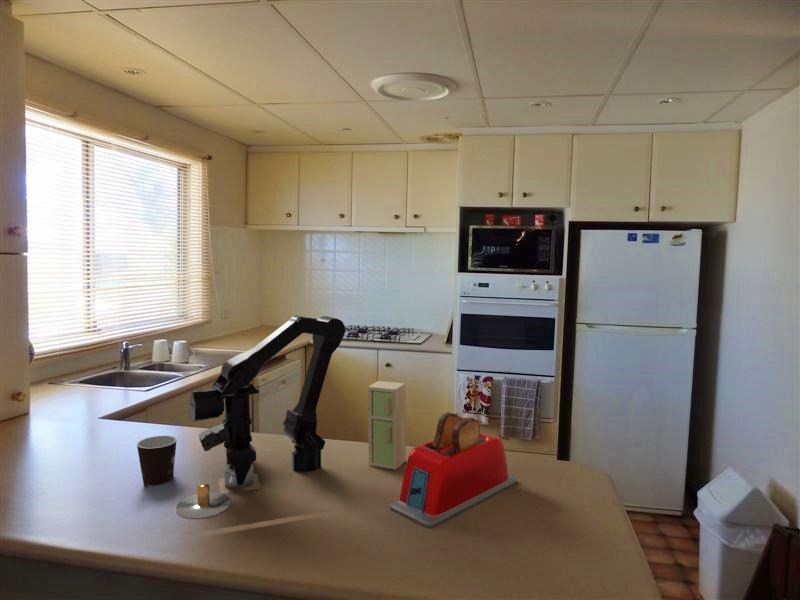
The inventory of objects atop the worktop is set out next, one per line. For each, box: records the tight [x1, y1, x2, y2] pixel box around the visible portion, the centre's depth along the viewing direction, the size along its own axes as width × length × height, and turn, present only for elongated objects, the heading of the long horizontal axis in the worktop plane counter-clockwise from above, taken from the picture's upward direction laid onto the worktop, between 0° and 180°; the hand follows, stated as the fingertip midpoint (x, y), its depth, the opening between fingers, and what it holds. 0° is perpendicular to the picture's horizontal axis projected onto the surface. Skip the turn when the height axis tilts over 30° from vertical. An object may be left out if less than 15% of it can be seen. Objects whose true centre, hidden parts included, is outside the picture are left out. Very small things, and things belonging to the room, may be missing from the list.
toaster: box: [388, 412, 517, 528], centre depth 125 cm, size 32×13×19 cm, turn 135°
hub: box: [175, 482, 232, 519], centre depth 118 cm, size 11×11×5 cm
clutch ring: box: [223, 463, 254, 489], centre depth 129 cm, size 6×6×4 cm
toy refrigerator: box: [367, 380, 407, 471], centre depth 142 cm, size 8×7×21 cm
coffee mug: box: [136, 435, 178, 488], centre depth 132 cm, size 12×9×10 cm
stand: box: [217, 472, 262, 494], centre depth 129 cm, size 9×9×5 cm
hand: (239, 478), depth 129 cm, fingers closed on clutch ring, 6 cm apart
